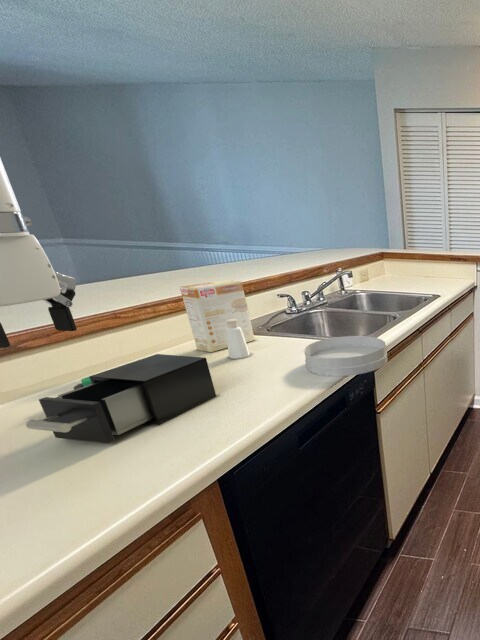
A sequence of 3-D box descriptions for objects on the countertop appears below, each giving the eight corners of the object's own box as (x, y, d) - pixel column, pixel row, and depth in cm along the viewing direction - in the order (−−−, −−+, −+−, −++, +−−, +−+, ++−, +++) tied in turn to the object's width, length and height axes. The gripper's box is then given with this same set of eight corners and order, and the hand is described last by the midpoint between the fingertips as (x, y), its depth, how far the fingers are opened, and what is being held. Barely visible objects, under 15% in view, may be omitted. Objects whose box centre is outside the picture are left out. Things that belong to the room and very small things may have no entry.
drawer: (82, 456, 72) (65, 415, 69) (27, 449, 74) (8, 409, 71) (174, 411, 89) (163, 377, 86) (127, 407, 90) (115, 373, 87)
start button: (79, 387, 92) (76, 380, 92) (96, 381, 96) (93, 374, 95) (93, 389, 92) (90, 381, 91) (110, 383, 95) (107, 375, 95)
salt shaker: (236, 352, 128) (228, 317, 124) (254, 353, 128) (246, 317, 124) (224, 358, 123) (215, 321, 119) (243, 359, 123) (234, 322, 119)
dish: (371, 378, 111) (369, 360, 109) (290, 374, 112) (286, 356, 110) (397, 352, 132) (396, 337, 130) (329, 349, 133) (326, 334, 131)
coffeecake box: (241, 337, 143) (227, 279, 136) (256, 340, 140) (243, 281, 133) (195, 349, 130) (178, 285, 123) (211, 352, 128) (194, 287, 120)
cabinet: (159, 425, 85) (144, 381, 81) (105, 419, 87) (88, 376, 83) (216, 396, 98) (206, 357, 95) (169, 392, 100) (157, 353, 96)
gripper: (31, 223, 70) (69, 324, 76) (-122, 225, 54) (-58, 353, 60) (74, 224, 69) (108, 326, 76) (-68, 227, 53) (-9, 356, 60)
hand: (35, 338), depth 68 cm, fingers open, 9 cm apart
